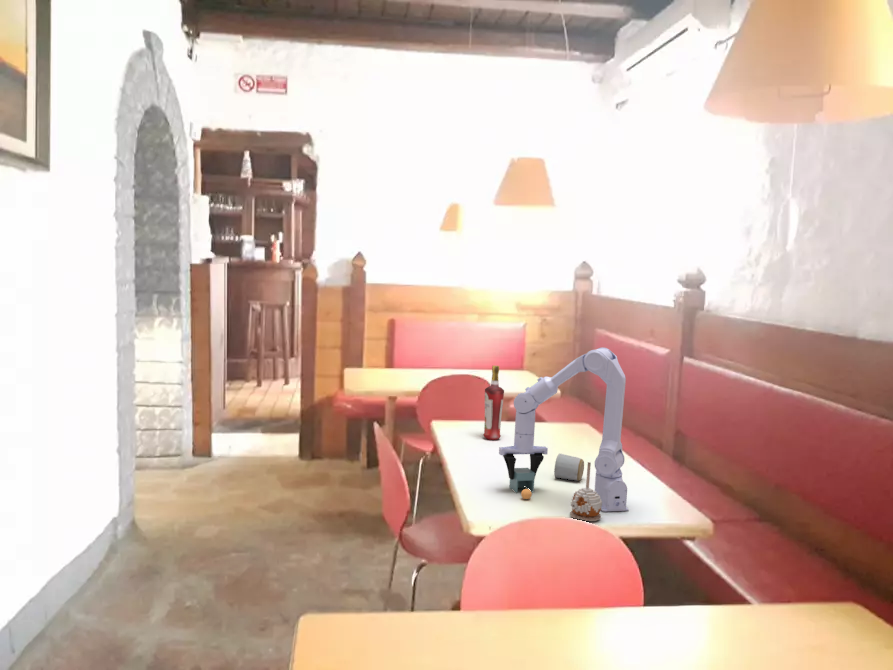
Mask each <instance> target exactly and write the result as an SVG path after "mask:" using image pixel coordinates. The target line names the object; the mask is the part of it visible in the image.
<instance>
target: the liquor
mask: <svg viewBox="0 0 893 670" xmlns="http://www.w3.org/2000/svg"><path fill="white" fill-rule="evenodd" d="M491 372H492V373H491V374H492V375H491V382H490V386H487V387H486V388H484V427H483V429H484V433H483V434H482V436H483V437H484V438H485V440H487V441H498V440H499V439H500V438H501V437H502V435H501V424H502V423H501V422H502V414H503V405H504V395H505V390H504V389H503V388H502V387H501V386H500V385H499V384H500V383H499V381H500V380H499V373H500V365H492V366H491Z"/></svg>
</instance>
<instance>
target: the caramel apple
mask: <svg viewBox="0 0 893 670" xmlns="http://www.w3.org/2000/svg"><path fill="white" fill-rule="evenodd" d="M590 479H591V462H587V468H586V480H585V481H586V482H585V483H586V484H585V487H582V488H578V490H575V492H573V496H572V498H571V502H570V507H571V509H572V510H571V511H570V512H569V516H570V517H572V518H574V519H577V520H579V519H582V520H581V521H583V520H585V521H584V522H596V521H598V520H599V521H600V519H601V518H602V515H601V513H600V512H601V511H602V510H601V509H602V501H601V499H600V498H601V497H600V496H599V495H598V494H597V492H596V491H595V489H592V488H590Z"/></svg>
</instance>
